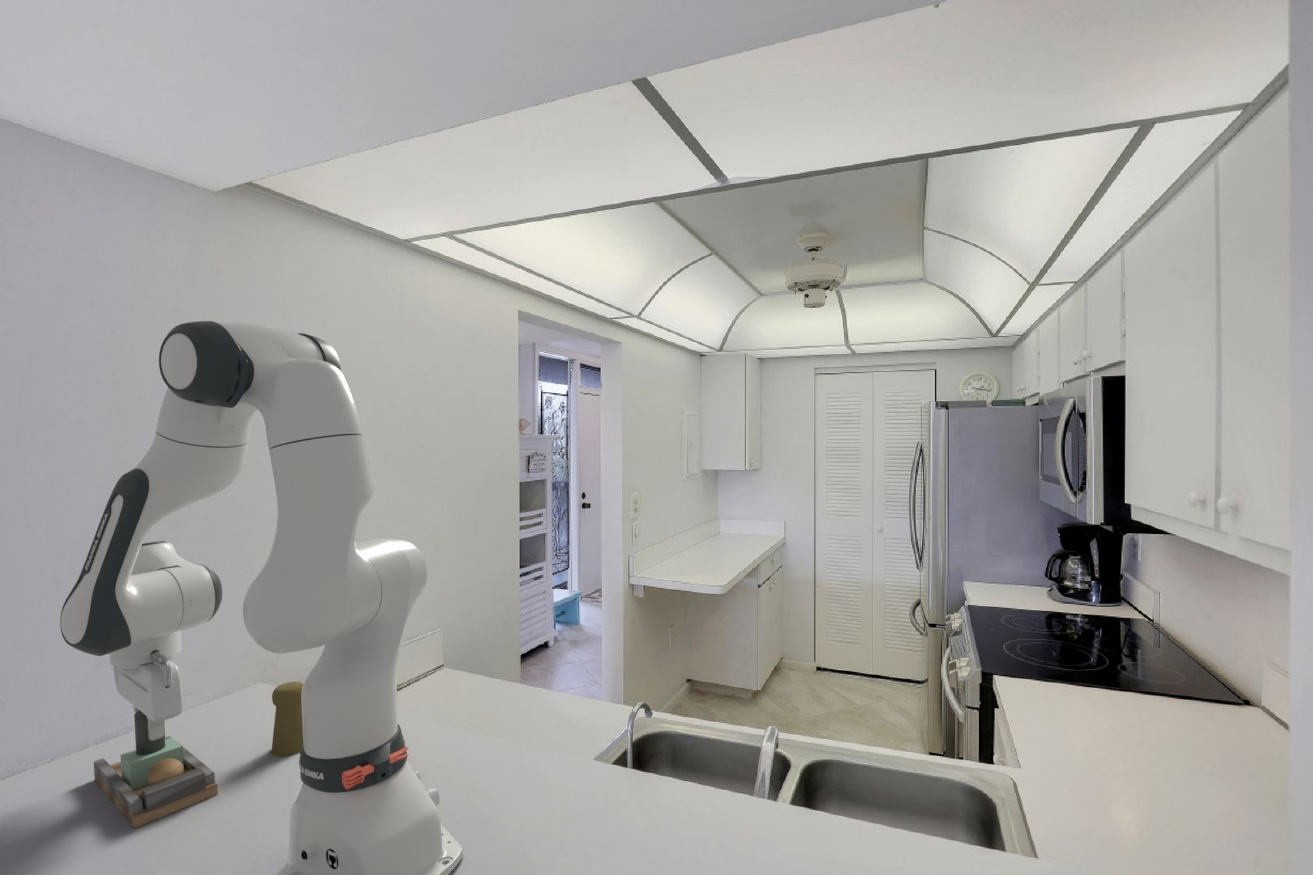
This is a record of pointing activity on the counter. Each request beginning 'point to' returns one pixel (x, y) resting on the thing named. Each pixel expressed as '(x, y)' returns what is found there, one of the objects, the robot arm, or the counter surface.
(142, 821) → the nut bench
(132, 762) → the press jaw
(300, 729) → the cork
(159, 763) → the walnut
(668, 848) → the counter surface
